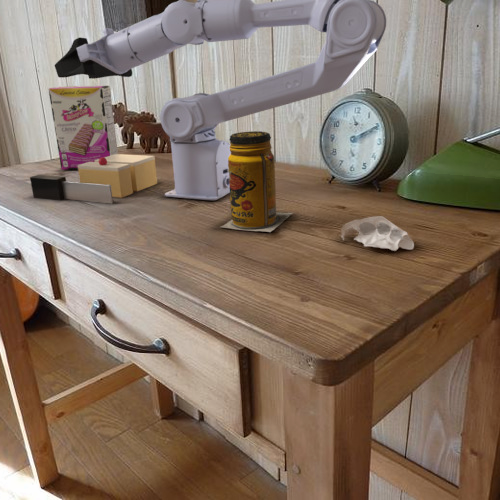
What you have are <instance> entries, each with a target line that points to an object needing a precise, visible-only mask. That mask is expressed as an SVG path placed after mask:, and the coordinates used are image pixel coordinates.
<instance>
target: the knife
mask: <svg viewBox="0 0 500 500" xmlns="http://www.w3.org/2000/svg"><path fill="white" fill-rule="evenodd" d="M29 180H30V186H31V190H32V195H33V199H34V198H35V199H36V198H37V199H44V200H54V201H62V200H70V201H81V202H90V203H91V202H92V203H102V204H110V205H113V204H114V199H113V198H114V197H112V191H111V185H106V184H94V183H81V182H80V181H68V180H67V177H66V176H61V175H60V176H59V175H46V174H36V175H33V176H30V177H29Z"/></svg>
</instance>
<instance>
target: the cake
mask: <svg viewBox="0 0 500 500" xmlns="http://www.w3.org/2000/svg"><path fill="white" fill-rule="evenodd" d="M104 158H106V159H107V163H118V164H129V166H130V174H131V182H132V191H133V192H140V191H142V190H145V189H147V188H149V187H152V186H155V185H158V178H157V168H156V160H155V159H156V158H155V155H144V154H142V155H141V154H124V153H118V154H114V155H111V156H107V157H104ZM94 161H95V162H99V159H97V160H94Z"/></svg>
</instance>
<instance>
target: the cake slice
mask: <svg viewBox="0 0 500 500" xmlns="http://www.w3.org/2000/svg"><path fill="white" fill-rule="evenodd" d="M78 177H79V182H81V183H94V184H106V185H111V191H112V198H119V199H122V198H125V197H127V196H130V195H132V194H133V193H134V191H132V182H131V174H130V166H129V164H118V163H107V159H106V158H104V157H102V158H100V159H99V162H87V163H84V164H80V165H78Z"/></svg>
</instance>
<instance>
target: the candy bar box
mask: <svg viewBox="0 0 500 500" xmlns="http://www.w3.org/2000/svg"><path fill="white" fill-rule="evenodd" d="M48 95H49V102H50V108H51V114H52V121H53V127H54V133H55V139H56V146H57V151H58V156H59V164H60V169H61V170H62V171H64V170H65V171H66V170H70V171H71V170H74V171H75V170H78V165H80V164H84V163H87V162H95V161H94V160H97V159H100V158H102V157H107V156H111V155H114V154H119V150H118V141H117V134H116V126H115V118H114V111H113V110H114V109H113V102H112V101H113V100H112V92H111V86H110V85H108V84H107V85H68V86H66V85H64V86H53V87H49V88H48Z"/></svg>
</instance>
